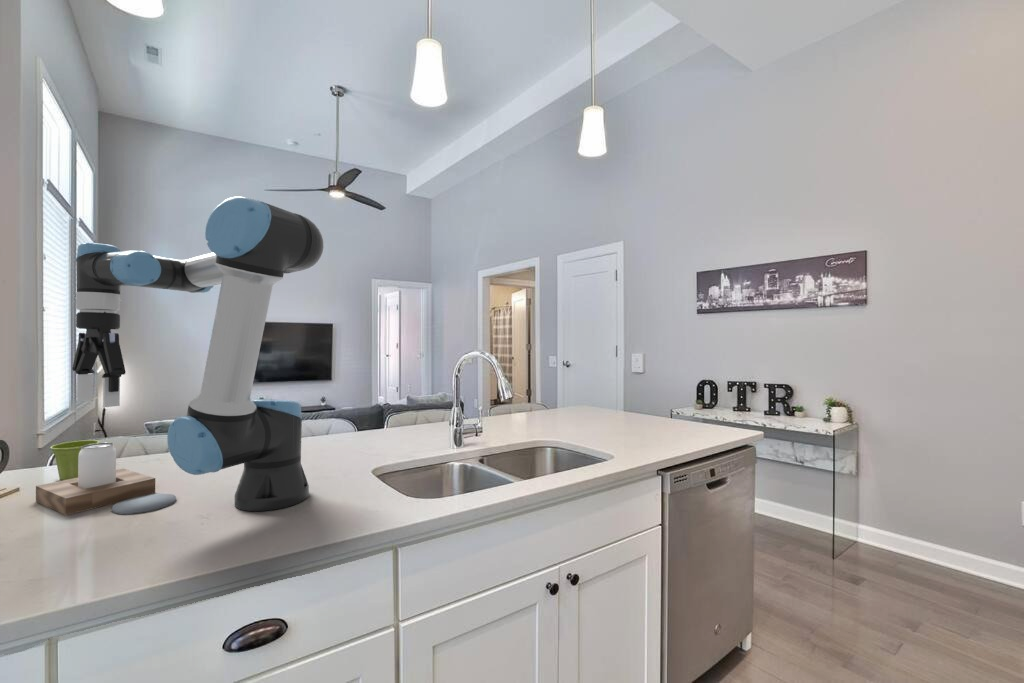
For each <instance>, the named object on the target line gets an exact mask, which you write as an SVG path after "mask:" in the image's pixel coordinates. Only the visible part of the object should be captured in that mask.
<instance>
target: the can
mask: <svg viewBox="0 0 1024 683" xmlns="http://www.w3.org/2000/svg"><path fill="white" fill-rule="evenodd" d="M114 445H115V443H114V442H100V443H95V444H89V445H84V446H82V447H81V448H82V449H81V451H80V453H79V456H78V487H79V488H82V489H86V488H91V487H96V486H100V485H105V484H109V483H114V482H116V470H117V449H116V447H115V446H114Z"/></svg>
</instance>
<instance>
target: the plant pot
mask: <svg viewBox="0 0 1024 683" xmlns="http://www.w3.org/2000/svg"><path fill="white" fill-rule="evenodd" d="M95 443H101V442H100V440H95V439H89V440H87V439H85V440H75V441H67V442H61V443H58V444H53V445H51V446H50V450H52V454H53V455H54V458H55V463H56V467H57V472H58V478H59V480H60V481H63V480H68V479H73V478H78V456H79V453H80V451H81V449H82V448H81V447H82V446H84V445H89V444H95Z"/></svg>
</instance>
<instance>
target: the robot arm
mask: <svg viewBox="0 0 1024 683" xmlns="http://www.w3.org/2000/svg"><path fill="white" fill-rule="evenodd" d="M204 234H205V235H204V238H205V240H206V241H207V243H206V245H207V247H208V249H209V250H210V251H211V252H210V253H205V254H202V255H198V256H194V257H190V258H186V259H177V258H176V259H175V258H170V257H162V256H158V255H152V254H151V253H149V252H146V251H143V250H134V249H130V250H129V249H128V250H123V251H121V249H120V248H119V247H118V246H115V245H112V244H105V243H99V242H97V243H96V242H92V243H91V242H82V243H80V244H79V245H78V246H77V253H76V258H75V264H76V268H75V269H76V292H75V309H76V310H79V312H77V313H76V314H75V327H76V328H77V329H80V330H86V331H85V332H79V333H78V341H77V345H76V352H75V354H74V359H73V364H72V369H71V370H72V371H73V372H75V374H76V403H84V402H85V403H86V402H88V403H89V402H93V401H94V374H95V371H94V369H93V368H94V365H95V364H96V360H97V358H99V361H100V364H101V367H102V369H103V372H104V373H103V374H102V376H101V379H102V380H103V381H102V385H103V386H102V408H112V407H113V408H114V407H119V406H120V403H121V401H120V399H121V396H120V393H121V388H120V387H121V378H122V375H123V376H124V375H126V367H125V362H124V358H123V354H122V351H121V350H122V349H121V344H120V335H119V333H115V332H112V330H119V329H120V328H121V315H120V314H119V313H117V312H119V311H121V303H122V302H123V299H121V286H122V287H125V286H126V287H127V286H130V287H131V286H132V287H140V288H151V289H160V290H161V289H162V290H171V291H177V292H178V291H179V292H188V293H204V294H205V293H208V292H209V291H211V289H212V288H213V287H214V286H217V285H220V288H219V293H218V294H219V295H218V299H217V304H216V309H215V315H214V320H213V325H212V329H211V330H212V331H211V334H210V340H209V347H208V350H207V351H208V353H207V357H206V361H205V368H204V373H203V376H202V377H203V378H202V384H201V388H200V393H199V394H198V395H196V396H195V397H193V398H192V399H190V400H189V402H188V407H187V412H186V415H181V416H179V417H177V418H175V419H174V420H173V421H172V422H170V425H169V427H168V430H167V436H166V437H167V438H166V439H167V446H168V451H169V453H170V456H171V457H172V458H173V461H174V462H175V464H176V465H177V467H179V468H180V470H182V471H184V472H186V473H187V474H190V475H192V476H194V475H195V476H201V475H205V474H209V473H217V472H220V470H224V469H228V468H231V467H235V466H239V465H242V464H243V471H242V474H241V476H240V479H239V483H238V485H237V487H236V491H235V494H234V507H235V508H237V509H239V510H242V511H247V512H263V511H273V510H278V509H284V508H287V507H291V506H294V505H298V504H300V503H302V502H303V501H305V500H306V499H308V497H310V496H309V495H310V494H309V492H310V487H309V483H308V480H307V477H306V476H307V475H306V474H305V470H304V469H303V465H302V425H303V424H302V422H303V421H302V420H303V417H302V406H301V405H300V403H299V402H297V401H296V400H288V399H267V398H251V395H252V390H253V383H254V381H255V375H256V371H257V364H258V361H259V354H260V349H261V347H262V345H261V344H262V339H263V336H264V335H263V334H264V331H265V325H266V320H267V315H268V311H269V305H270V300H271V296H272V291H273V286H274V285H275V284H276V283H278V282H280V281H281V280H283V279H284V274H291V273H295V272H300V271H304V270H307V269H311V267H313V266H315V265H316V264H317V263H318V261H319V260H320V259H321V257H322V254H323V251H324V239H323V236H322V233H321V231H320V229H319V228H318V226H317V225H316V224H315V223H314V222H313V221H311V220H310V219H309V218H307V217H306V216H303V215H302V214H299V213H295V212H291V211H289V210H286V209H283V208H280V207H278V206H276V205H273V204H269V203H266V202H264V201H260V200H258V199H252V198H249V197H245V196H233V197H229V198H226V199H224V200H223V201H222V202H221V203H218V205H217V206H215V208H213V210H212V212H211V213H210V215H209V217H208V219H207V221H206V226H205V232H204Z"/></svg>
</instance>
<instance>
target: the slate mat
mask: <svg viewBox="0 0 1024 683" xmlns="http://www.w3.org/2000/svg"><path fill="white" fill-rule="evenodd" d="M176 501H177V496H176V495H175V494H171V493H153V494H149V495H144V496H139V497H134V498H130V499H127V500H124V501H121V502H117V503H114V504H113V505H112V507H111V508H112V509H111V511H112V513H114V514H117V515H135V514H143V513H147V512H148V513H149V512H153V511H156V510H161V509H163V508H167V507H169V506H170V505H171V506H172V505H173V504H174V503H176Z"/></svg>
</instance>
